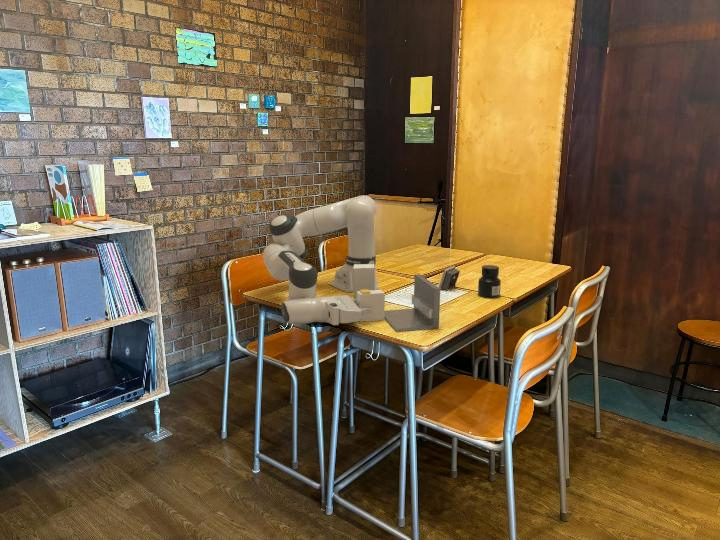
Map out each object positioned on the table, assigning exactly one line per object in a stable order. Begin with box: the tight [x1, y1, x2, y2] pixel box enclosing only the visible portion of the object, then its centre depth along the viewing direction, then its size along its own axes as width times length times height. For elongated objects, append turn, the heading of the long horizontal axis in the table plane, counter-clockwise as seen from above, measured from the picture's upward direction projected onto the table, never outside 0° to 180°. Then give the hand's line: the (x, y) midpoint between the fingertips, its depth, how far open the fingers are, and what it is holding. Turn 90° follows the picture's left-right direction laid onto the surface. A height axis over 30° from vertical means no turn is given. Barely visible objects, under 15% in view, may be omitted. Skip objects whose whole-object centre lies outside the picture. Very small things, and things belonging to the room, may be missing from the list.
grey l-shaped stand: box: [384, 273, 441, 333], centre depth 192 cm, size 15×20×14 cm
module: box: [357, 289, 386, 323], centre depth 194 cm, size 9×4×11 cm, turn 104°
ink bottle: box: [477, 264, 502, 299], centre depth 224 cm, size 10×9×12 cm
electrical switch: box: [438, 265, 461, 291], centre depth 234 cm, size 9×5×9 cm, turn 145°
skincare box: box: [353, 264, 376, 299], centre depth 210 cm, size 8×7×16 cm
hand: (367, 306), depth 194 cm, fingers open, 8 cm apart
